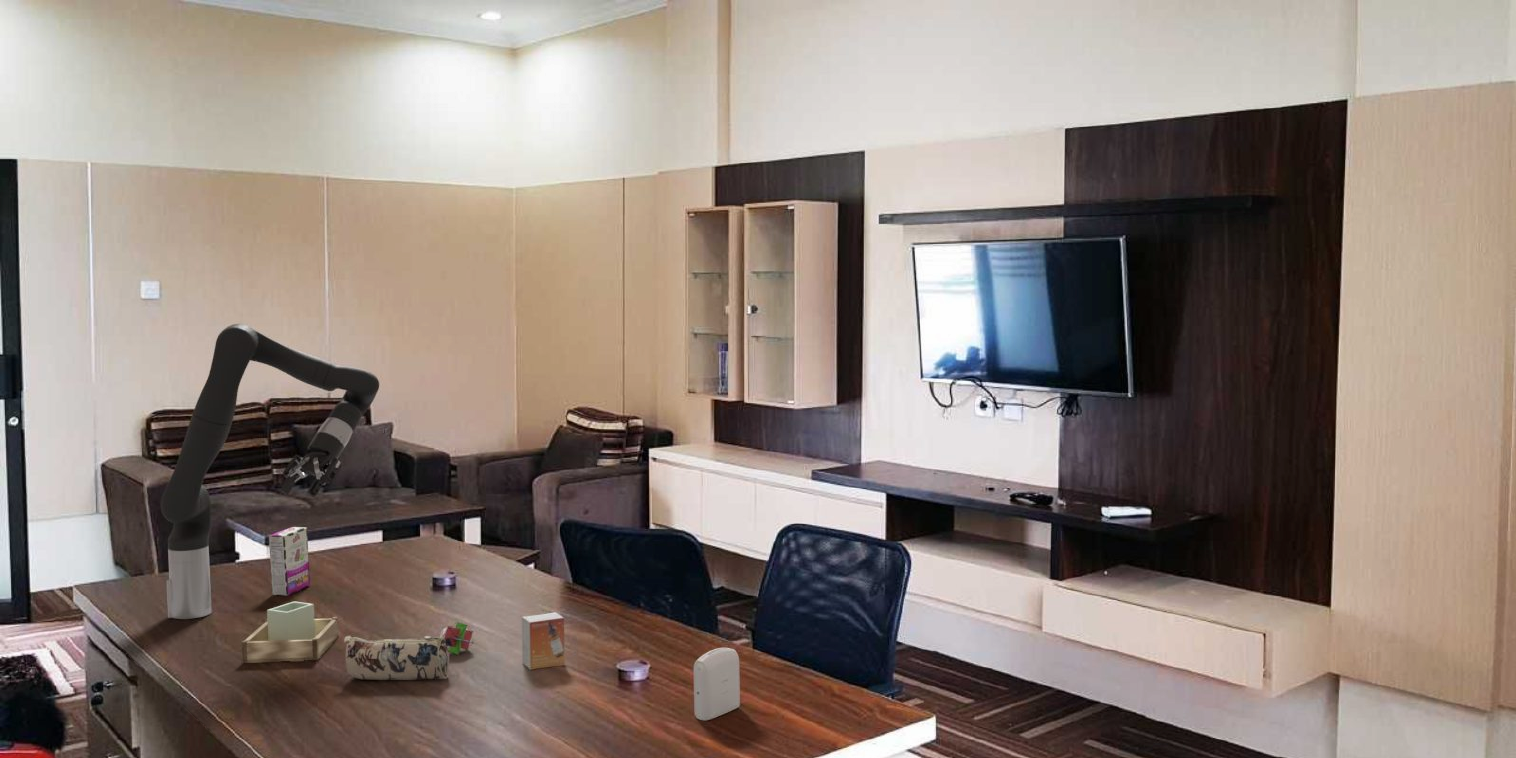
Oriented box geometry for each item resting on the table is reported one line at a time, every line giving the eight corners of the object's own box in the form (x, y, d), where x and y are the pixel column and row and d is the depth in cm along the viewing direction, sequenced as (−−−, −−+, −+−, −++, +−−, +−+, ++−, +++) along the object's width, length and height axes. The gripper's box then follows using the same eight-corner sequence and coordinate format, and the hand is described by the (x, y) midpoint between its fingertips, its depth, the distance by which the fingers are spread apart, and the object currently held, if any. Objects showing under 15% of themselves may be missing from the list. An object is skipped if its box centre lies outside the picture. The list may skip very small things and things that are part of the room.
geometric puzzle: (470, 634, 285) (450, 611, 281) (486, 640, 280) (467, 617, 276) (448, 658, 281) (428, 635, 277) (465, 665, 276) (444, 641, 272)
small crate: (268, 649, 279) (267, 609, 279) (295, 639, 287) (294, 601, 286) (288, 652, 277) (286, 612, 276) (315, 642, 284) (313, 604, 283)
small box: (529, 670, 265) (528, 622, 264) (522, 663, 270) (520, 616, 269) (565, 665, 269) (564, 617, 268) (557, 658, 274) (556, 611, 273)
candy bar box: (294, 585, 341) (291, 526, 340) (310, 586, 340) (308, 526, 339) (270, 595, 330) (267, 534, 329) (287, 596, 329) (284, 535, 328)
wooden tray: (242, 663, 272) (241, 641, 272) (268, 639, 290) (267, 619, 290) (317, 660, 273) (316, 639, 273) (338, 637, 291) (337, 616, 291)
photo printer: (707, 722, 233) (706, 658, 232) (690, 717, 236) (689, 654, 235) (743, 708, 241) (742, 645, 240) (726, 703, 244) (726, 641, 243)
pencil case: (454, 672, 265) (453, 627, 264) (443, 685, 256) (441, 639, 256) (353, 672, 266) (351, 627, 265) (338, 685, 257) (336, 639, 256)
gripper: (300, 429, 306) (265, 482, 297) (344, 432, 300) (310, 486, 291) (317, 448, 311) (283, 501, 302) (360, 451, 305) (328, 505, 296)
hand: (297, 493), depth 296 cm, fingers open, 8 cm apart
